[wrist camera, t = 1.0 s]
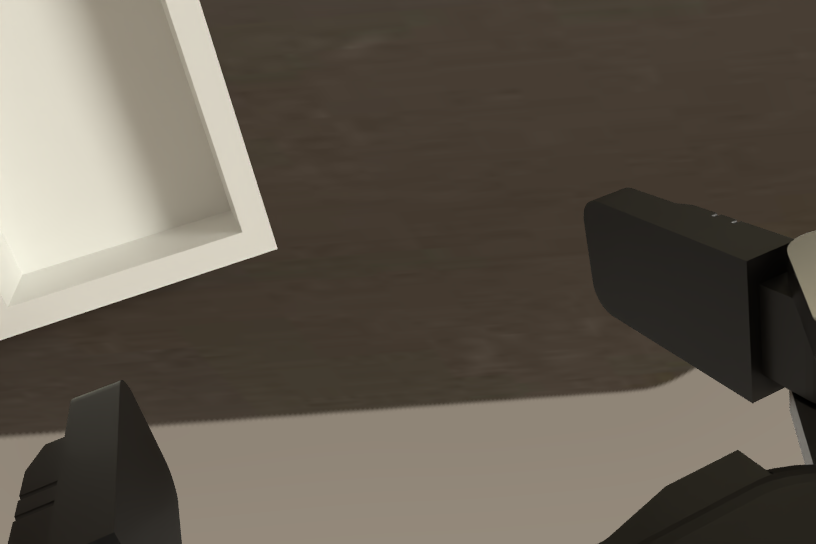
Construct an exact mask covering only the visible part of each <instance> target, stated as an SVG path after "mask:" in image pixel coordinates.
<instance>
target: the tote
mask: <svg viewBox="0 0 816 544" xmlns="http://www.w3.org/2000/svg"><path fill="white" fill-rule="evenodd" d="M276 249H277V246H276V243H275V239H274V236H273V233H272V230H271V227H270V224H269V220H268V217H267V214H266V211H265V208H264V204H263V201H262V198H261V195H260V192H259V189H258V185H257V182H256V179H255V176H254V173H253V170H252V166H251V163H250V160H249V157H248V154H247V151H246V147H245V144H244V141H243V138H242V135H241V132H240V128H239V125H238V122H237V119H236V116H235V112H234V109H233V106H232V103H231V100H230V97H229V93H228V90H227V87H226V84H225V81H224V78H223V74H222V71H221V68H220V65H219V62H218V59H217V55H216V52H215V49H214V46H213V43H212V40H211V36H210V33H209V30H208V27H207V24H206V20H205V17H204V14H203V11H202V8H201V5H200V1H199V0H0V340H2V339H6V338H9V337H12V336H15V335H18V334H21V333H24V332H27V331H30V330H33V329H36V328H39V327H42V326H45V325H48V324H51V323H54V322H57V321H60V320H63V319H66V318H69V317H72V316H75V315H78V314H81V313H84V312H87V311H90V310H94V309H97V308H100V307H103V306H106V305H109V304H112V303H115V302H118V301H121V300H124V299H127V298H130V297H133V296H136V295H139V294H142V293H145V292H148V291H151V290H154V289H157V288H160V287H163V286H166V285H169V284H172V283H175V282H178V281H181V280H185V279H188V278H191V277H194V276H197V275H200V274H203V273H206V272H209V271H212V270H215V269H218V268H221V267H224V266H227V265H230V264H233V263H236V262H239V261H242V260H245V259H248V258H251V257H254V256H257V255H260V254H263V253H266V252H269V251H273V250H276Z"/></svg>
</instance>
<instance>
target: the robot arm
mask: <svg viewBox="0 0 816 544" xmlns="http://www.w3.org/2000/svg"><path fill="white" fill-rule="evenodd" d="M584 224H585V230H586V237H587V244H588V251H589V258H590V265H591V272H592V278H593V284H594V288H595V292H596V294H597V296H598V299H599V300H600V302H601V304H602V305H603V307H604V308H605V309H606V310H607V311H608V312H609V313H610V314H611V315H612V316H614V317H615V318H617V319H619V320H620V321H622V322H623V323H625V324H627V325H628V326H630V327H631V328H633V329H635V330H636V331H638V332H639V333H641V334H643V335H644V336H646V337H647V338H649V339H651V340H652V341H654V342H655V343H657V344H659V345H660V346H662V347H663V348H665V349H667V350H668V351H670V352H672V353H673V354H675V355H676V356H678V357H680V358H681V359H683V360H684V361H686V362H688V363H689V364H691V365H692V366H694V367H696V368H697V369H699V370H700V371H702V372H704V373H705V374H707V375H708V376H710V377H712V378H713V379H715V380H716V381H718V382H720V383H721V384H723V385H724V386H726V387H728V388H729V389H731V390H733V391H734V392H736V393H737V394H739V395H740V396H742V397H744V398H745V399H747V400H748V401H750V402H752V403H754V402H756V401H758V400H760V399H762V398H764V397H766V396H768V395H770V394H772V393H774V392H776V391H778V390H780V389H783V388H784V387H786V388H787V389H789V398H790V399H789V400H790V413H791V417H792V420H793V424H794V427H795V431H796V435H797V437H798V442H799V445H800V448H801V452H802V455H803V459H804V463H805V465H794V466H787V467H780V468H774V469H769V470H765V469H764V468H762V467H761V466H760V465H758V464H757V463H755V462H754V461H753V460H751V459H750V458H748V457H747V456H746V455H744V454H743V453H741V452H740V451H739V450H737V451H735V452H733V453H731V454H729V455H727V456H725V457H723V458H721V459H719V460H717V461H715V462H713V463H711V464H709V465H707V466H705V467H703V468H701V469H699V470H697V471H695V472H693V473H691V474H689V475H687V476H685V477H683V478H681V479H680V480H677V481H676V482H674V483H671V484H669V485H668V486H666V487H665V488H664V489H662V490H661V491H660V492H659V493H658V494H657V495H656V496H654V497H653V498H652V499H651V500H650V501H649V502H648V503H647V504H646V505H644V506H643V507H642V508H641V509H640V510H639V511H638V512H637V513H636V514H634V515H633V516H632V517H631V518H630V519H629V520H628V521H626V522H625V523H624V524H623V525H622V526H621V527H620V528H619V529H618V530H616V531H615V532H614V533H613V534H612V535H611V536H610V537H608V538H607V539H606V540H604V541H603V542H601V543H599V544H816V231H813V232H809V233H806V234H804V235H801V236H799V237H797V238H796V239H792V238H789V237H786V236H783V235H780V234H777V233H774V232H771V231H768V230H765V229H762V228H759V227H756V226H754V225H751V224H748V223H745V222H742V221H741V222H738V223H737V221H736V219H733V218H730V217H727V216H724V215H719V216H718V215H717V213H715V212H712V211H709V210H706V209H703V208H700V207H697V206H694V205H687V204H677V203H673V202H670V201H667V200H664V199H661V198H658V197H656V196H653V195H650V194H647V193H644V192H641V191H638V190H635V189H632V188H624V189H621V190H619V191H616V192H614V193H611V194H608V195H606V196H603V197H601V198H598V199H595V200H593V201H590V202H588V203H587V205H586V206H585V209H584ZM19 496H20V499H21V500H19V501H18V503H17V508H16V512H15V520H16V521H14V522H13V524H12V529H11V533H10V537H9V541H8V544H182V541H181V530H180V519H179V508H178V498H177V493H176V489H175V486H174V482H173V479H172V476H171V473H170V470H169V468H168V466H167V463H166V461H165V459H164V457H163V455H162V453H161V451H160V449H159V447H158V444H157V442H156V440H155V438H154V436H153V434H152V432H151V430H150V428H149V426H148V424H147V422H146V420H145V418H144V416H143V414H142V412H141V410H140V408H139V406H138V404H137V402H136V399H135V397H134V395H133V393H132V392H131V390H130V388H129V387H128V385H127V384H126V383H125V382H124V381H123V380H121V381H118V382H116V383H113V384H110V385H108V386H105V387H103V388H100V389H97V390H95V391H92V392H90V393H87V394H84V395H82V396H79V397H77V398H74V399H72V400H71V403H70V408H69V414H68V420H67V426H66V432H65V437H63V438H61V439H58V440H56V441H54V442H51V443H48V444H46V445H45V446H44V447H43V448H42V450H41V451H40V452H39V454H38V455H37V456H36V458H35V459H34V460H33V462H32V463H31V464H30V466H29V467H28V468H27V470H26V471H25V474H24V478H23V482H22V487H21V491H20V495H19Z"/></svg>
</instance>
